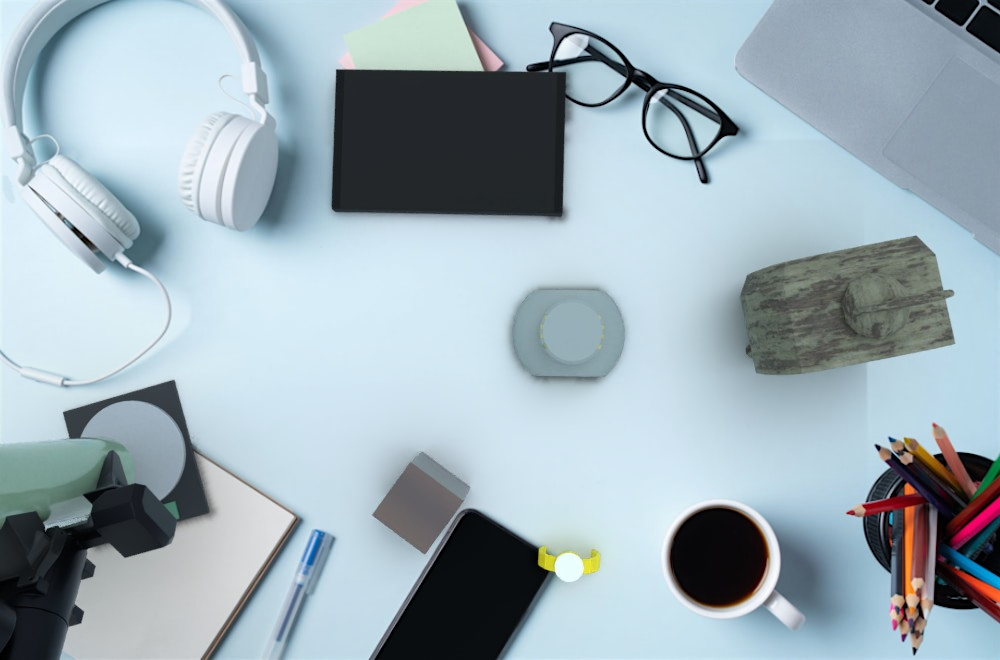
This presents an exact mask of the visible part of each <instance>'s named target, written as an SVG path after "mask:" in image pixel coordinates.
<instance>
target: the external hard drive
mask: <svg viewBox="0 0 1000 660" xmlns="http://www.w3.org/2000/svg"><path fill="white" fill-rule="evenodd" d="M566 88H567V71H514V70H513V71H512V70H511V71H508V70H506V71H505V70H442V69H441V70H437V69H436V70H435V69H434V70H433V69H432V70H431V69H429V70H427V69H361V68H360V69H350V68H348V69H347V68H346V69H345V68H336V69H335V88H334V90H335V92H334V116H333V117H334V119H333V121H334V122H333V146H332V149H333V153H332V175H331V177H332V178H331V179H332V180H331V210H332V211H333V212H335V213H362V214H363V213H364V214H366V213H368V214H371V213H372V214H412V215H413V214H415V215H417V214H419V215H420V214H421V215H424V214H425V215H426V214H427V215H462V216H463V215H465V216H466V215H467V216H469V215H470V216H513V217H514V216H515V217H516V216H518V217H519V216H521V217H526V216H527V217H563V214H564V213H563V212H564V177H565V176H564V174H565V134H566V133H565V131H566V91H567V89H566Z"/></svg>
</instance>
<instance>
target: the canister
mask: <svg viewBox="0 0 1000 660" xmlns="http://www.w3.org/2000/svg"><path fill="white" fill-rule="evenodd" d="M111 450H114V451H115V452H116V453H117V454H118V455H119V457H120V460H121V463H122V466H123V470H124V473H125V476H126V479H127V483H128V485H130V484H133V482H134V476H135V469H134V463H133V460H132V457H131V455H130V453H129V452H128V450H127V449H126V448H125V447H124V446H123V445H122V444H121V443H120V442H118V441H116V440H115V439H112V438H109V437H105V436H95V437H82V438H58V439H57V438H56V439H46V440H45V439H44V440H32V441H31V440H30V441H22V442H7V443H5V442H4V443H0V529H1V528H2V526H3V524H4V522H5V519H6V516H10V515H16V514H21V513H27V512H33V511H36V512H37V513H38V515H39V517H40V518H41V520H42V522H43V523H44V525H45V527H48V526H52V525H55V524H61V523H64V522H68V521H72V520H76V519H81V518H84V517H88V516H89V514H90V513H91V509H92V506H93V505H92V504H91V503H90V502H89V501H88V500H87V499H86V498H85V497H84V496H83V494H84V493H87V492H90V491H94V490H95V489H96V486H97V483H98V480H99V476H100V473H101V470H102V466H103V463H104V460H105V458H106V456H107V454H108V452H109V451H111Z"/></svg>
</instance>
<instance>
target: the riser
mask: <svg viewBox="0 0 1000 660" xmlns="http://www.w3.org/2000/svg"><path fill="white" fill-rule="evenodd" d="M470 488H471V486H470V485H469V484H467V483H466V482H465V481H463V480H462V479H460V478H459V477H457V476H456V475H455V474H454V473H452V472H451V471H450V470H448V469H447V468H445V467H444V466H443V465H442V464H440V463H439V462H438V461H436V460H434V459H433V458H432V457H430V456H429V455H428V454H426V453H425V452H424V451H421V452H420V453H419V454H417V456H416V457H414V458H413V459H412V460H411V461H410V462H409V463H408V464H407V466H406V467H405V468H404V470H403V472H402V473H401V474H400V476H399V477H398V478H397V480H396V481H395V483H394V484H393V485H392V487H391V488H390V489H389V491H388V492H387V494H386V495H385V496H384V498H383V499H382V500H381V502H380V503H379V504H378V506H377V507H376V509H375V510H374V511H373V513H372V515H371V516H372V517H374V518H375V519H376V520H378V521H379V522H380V523H382V524H383V525H384V526H385V527H387V528H388V529H390V530H391V531H392V532H393V533H395V534H396V535H398V536H399V537H400V538H402V539H403V540H404V541H405V542H407V543H408V544H409V545H411V546H412V547H414V548H415V549H416V550H417V551H419V552H420V553H421V554H423V555H426V554H427V553H428V552H429V550H430V548H431V547H432V546H433V544H434V543H435V541H437V539H438V537H439V536H440V535H441V533H442V532H443V530H444V529H445V528H446V526H447V525H448V524H449V522H450V521H451V519H452V518H453V516H454V515H455V514H456V513H457V511H458V510H459V508H460V507H461V506H462V505H463V503H464V501H465V499H466V497H467V495H468V493H469V491H470V490H471V489H470Z"/></svg>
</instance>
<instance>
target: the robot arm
mask: <svg viewBox="0 0 1000 660" xmlns="http://www.w3.org/2000/svg"><path fill="white" fill-rule="evenodd" d="M83 496H84V497H85V498H86V499H87V500H88V501H89V502H90V503H91V504H92V505H93V506H92V509H91V513H90V514H89V516H87V519H84V520H81V521H77V522H74V523H70V524H67V525H64V526H59V525H53V526H50V527H47V528H46V526H45V525H44V523H43V522H42V520H41V518H40V517H39V515H38V513H37V512H36V511H33V512H27V513H21V514H16V515H10V516H6V519H5V522H4V524H3V526H2V528H1V529H0V660H61V656H62V652H63V649H64V645H65V642H66V638H67V634H68V631H69V628H70V627H73V626H77V625H81V624H82V622H83V619H84V615H85V610H83V609H82V608H80V607H79V606H78V605H77V604H76V601H77V597H78V593H79V591H80V590H79V589H80V587H81V582H82V581H83V580H87V579H90V578H94V576H95V571H96V567H97V566H96V565H95V564H94V563H93V562H92V561H91V560H90V559H89V558H88V550H89V549H92V548H97V547H99V546H103V545H107V544H109V545H110V546H111V547H112V548H113V549H115V550H116V551H117V552H118V553H119V554H120V555H121V556H122V557H123V558H124V559H127V558H131V557H134V556H137V555H140V554H145V553H148V552H151V551H156V550H160V549H163V548H166V547H167V546H169V545H171V544H172V543H173V540H174V538H175V535H176V529H177V523H178V522H177V519H176V518H175V517H174V516H173V515H172V513H171V512H170V511H169V510H168V509H167V508H166V507H165V506H164V505H163V504H162V503H161V501H160V500H159V499H158V498H157V497H156V496H155V495H154V494H153V493H152V492H151V491H150V489H149V488H148V487H147V486H146V485H142V484H137V483H134V484H130V485H128V483H127V479H126V476H125V473H124V470H123V466H122V463H121V460H120V457H119V455H118V454H117V453H116V452H115V451H114V450H111V451H109V452H108V454H107V456H106V458H105V460H104V463H103V466H102V470H101V473H100V476H99V480H98V483H97V486H96V489H95V490H94V491H90V492H87V493H84V494H83Z"/></svg>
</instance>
